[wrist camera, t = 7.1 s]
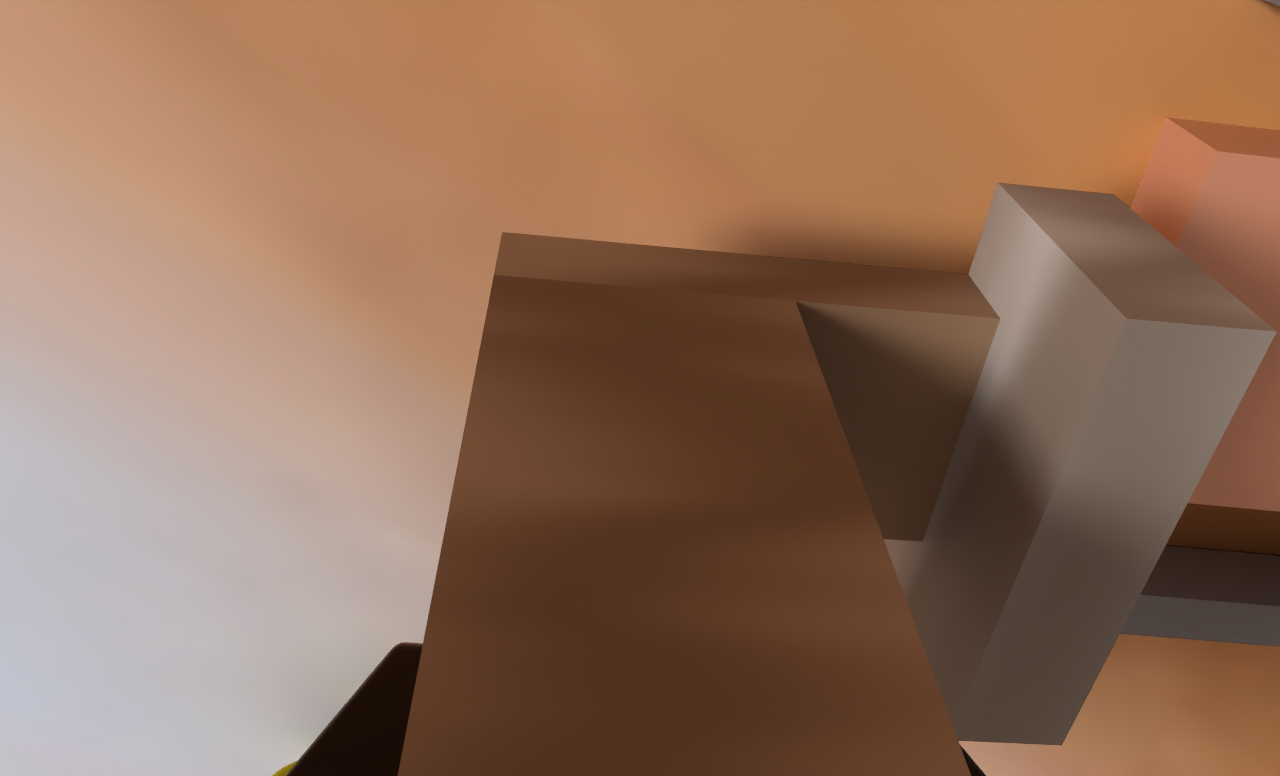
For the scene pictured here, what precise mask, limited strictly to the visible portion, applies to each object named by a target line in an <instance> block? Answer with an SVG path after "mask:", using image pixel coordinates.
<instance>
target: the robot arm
mask: <svg viewBox="0 0 1280 776" xmlns="http://www.w3.org/2000/svg"><path fill="white" fill-rule="evenodd" d="M422 647H423V644H420V643H400V644H398V645H396V646H395V647H394V648H393V649H392V650H391V651H390V652H389V653H388V654H387V655H386V656H385V658H384V659H383V660H382V661H381V662H380V664H379V665H378V666H377V667H376V668H375V670H374V671H373V672H372V673H371V674H370V676H369V677H368V678H367V679H366V680H365V681H364V683H363V684H362V685H361V686H360V687H359V689H358V690H357V691H356V692H355V693H354V695H353V696H352V697H351V698H350V699H349V701H348V702H347V703H346V704H345V705H344V706H343V708H342V709H341V710H340V711H339V712H338V714H337V715H336V716H335V717H334V718H333V720H332V721H331V722H330V723H329V724H328V725H327V727H326V728H325V729H324V730H323V731H322V733H321V734H320V735H319V736H318V737H317V739H316V740H315V741H314V742H313V743H312V745H311V746H310V747H309V748H308V749H307V750H306V752H305V753H304V754H303V755H302V756H301V758H300V759H299V760H298V761H297V762H296V764H295V765H294V766H293V767H292V768H291V770H290V771H289V772H288V773H287V774H286V775H285V776H398V772H399V766H400V761H401V756H402V751H403V746H404V740H405V735H406V730H407V725H408V720H409V714H410V709H411V704H412V699H413V694H414V688H415V683H416V678H417V673H418V668H419V662H420V657H421V652H422ZM960 747H961V745H960ZM961 750H962V752H963V755H964V758H965V760H966V763H967V766H968V769H969V771H970V774H971V776H986V775H985V774H984V773H983V772H982V770H981V769H980V768H979V767H978V766H977V764H976V763H975V762H974V761H973V760H972V759H971V757H970V756H969V755H968V754H967V753H966V751H965V750H964V749H963V748H962V747H961Z"/></svg>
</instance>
